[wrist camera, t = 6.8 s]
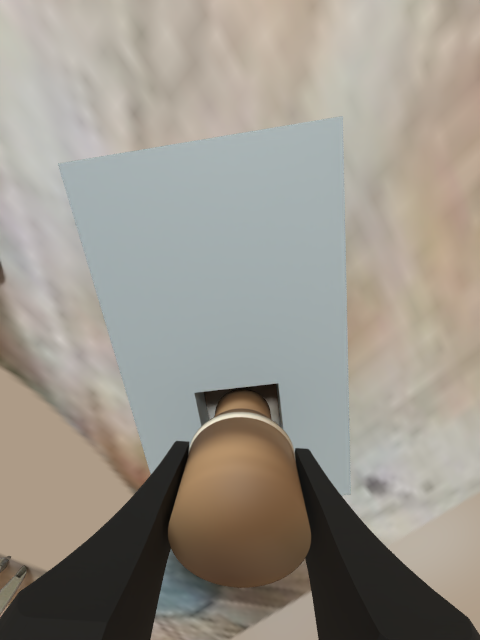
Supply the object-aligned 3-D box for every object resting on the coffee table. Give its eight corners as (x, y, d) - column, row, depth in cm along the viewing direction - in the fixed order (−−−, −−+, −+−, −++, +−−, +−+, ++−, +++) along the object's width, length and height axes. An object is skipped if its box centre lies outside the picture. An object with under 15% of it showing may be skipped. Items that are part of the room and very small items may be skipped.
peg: (186, 425, 16) (142, 554, 9) (227, 360, 14) (209, 456, 8) (256, 460, 16) (262, 605, 10) (301, 401, 15) (342, 521, 8)
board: (170, 483, 19) (161, 511, 17) (85, 175, 13) (57, 163, 11) (339, 467, 18) (350, 494, 16) (327, 135, 12) (342, 116, 10)
